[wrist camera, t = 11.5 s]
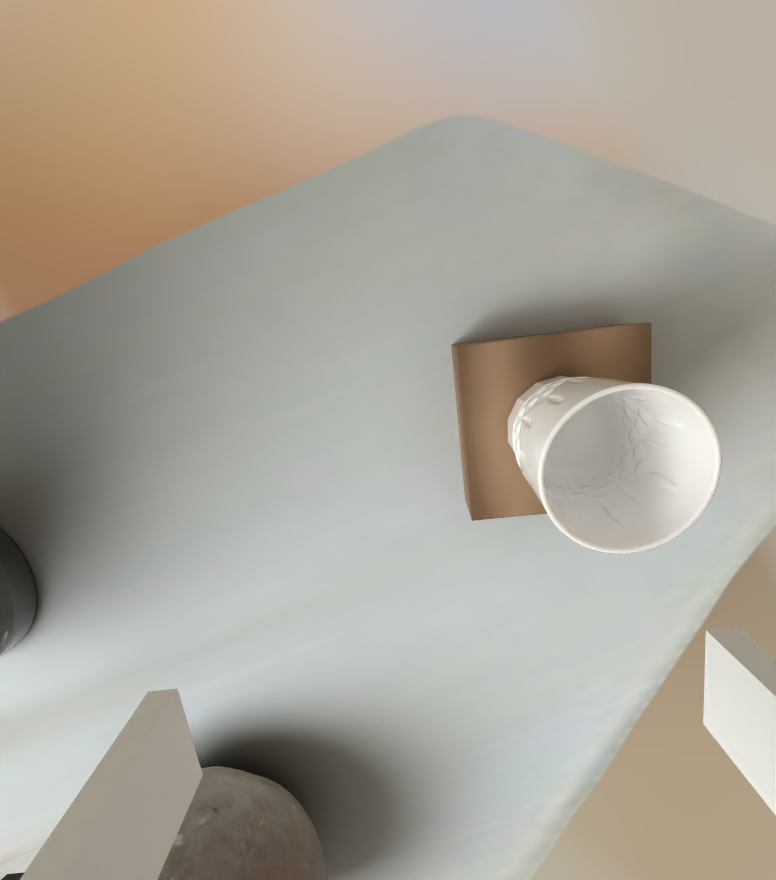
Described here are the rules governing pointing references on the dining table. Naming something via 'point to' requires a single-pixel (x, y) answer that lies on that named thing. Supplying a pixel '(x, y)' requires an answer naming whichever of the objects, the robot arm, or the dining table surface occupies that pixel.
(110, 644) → the dining table surface
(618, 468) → the white cup
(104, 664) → the dining table surface
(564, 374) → the walnut plinth
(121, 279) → the dining table surface
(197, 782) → the robot arm
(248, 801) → the clay pot
